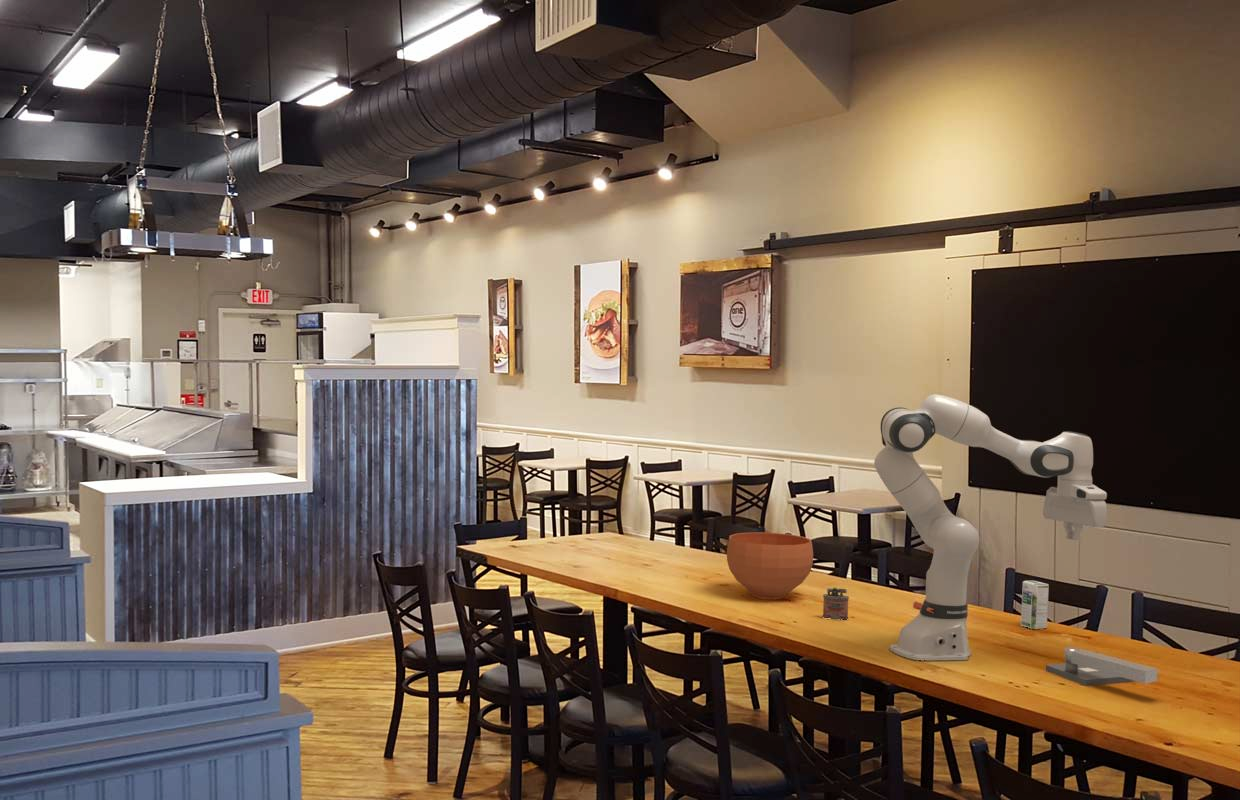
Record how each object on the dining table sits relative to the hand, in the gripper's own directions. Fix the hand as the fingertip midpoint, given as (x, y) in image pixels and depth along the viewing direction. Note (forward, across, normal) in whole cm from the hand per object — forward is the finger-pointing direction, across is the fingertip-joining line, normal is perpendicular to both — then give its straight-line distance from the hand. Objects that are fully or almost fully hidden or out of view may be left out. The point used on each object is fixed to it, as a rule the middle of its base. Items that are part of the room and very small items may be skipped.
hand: (1072, 539), depth 280 cm
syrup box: (+34, -34, +18) cm, 51 cm away
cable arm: (+29, +24, -11) cm, 39 cm away
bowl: (+34, -94, -45) cm, 110 cm away
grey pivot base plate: (+34, +14, -2) cm, 37 cm away
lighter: (+34, -58, -39) cm, 78 cm away
